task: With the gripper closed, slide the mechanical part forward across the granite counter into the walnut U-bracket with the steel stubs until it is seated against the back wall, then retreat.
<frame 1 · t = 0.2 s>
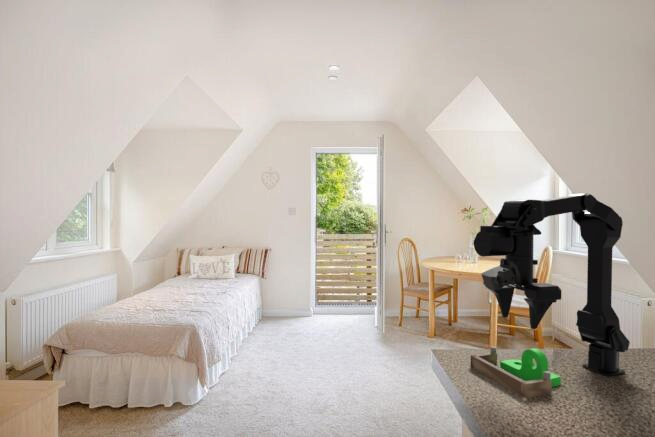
hand: (518, 322, 89), 14 cm above the countertop, fingers open, 9 cm apart
dock bracket: (511, 378, 92), on the countertop
mechanical part: (529, 377, 93), on the countertop
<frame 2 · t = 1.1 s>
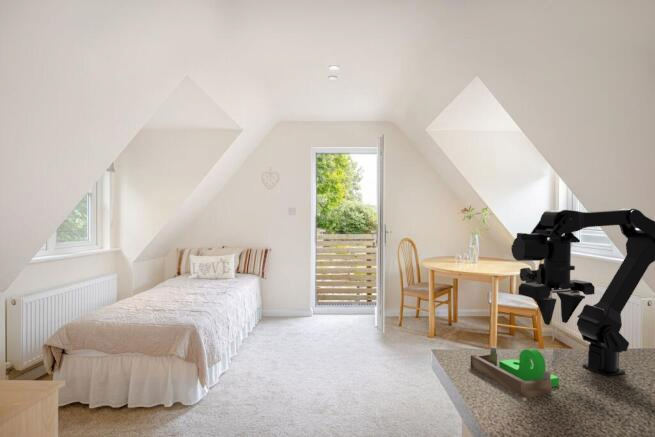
hand: (555, 323, 96), 12 cm above the countertop, fingers open, 5 cm apart
nothing on the countertop moved.
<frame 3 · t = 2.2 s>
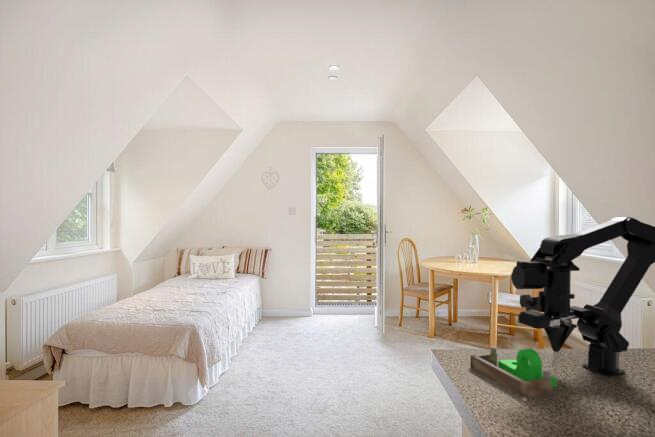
hand: (555, 351, 96), 5 cm above the countertop, fingers closed
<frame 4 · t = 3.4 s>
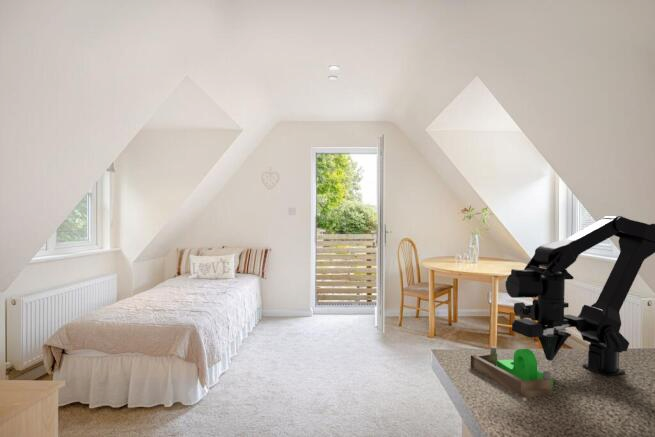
hand: (549, 360, 95), 3 cm above the countertop, fingers closed
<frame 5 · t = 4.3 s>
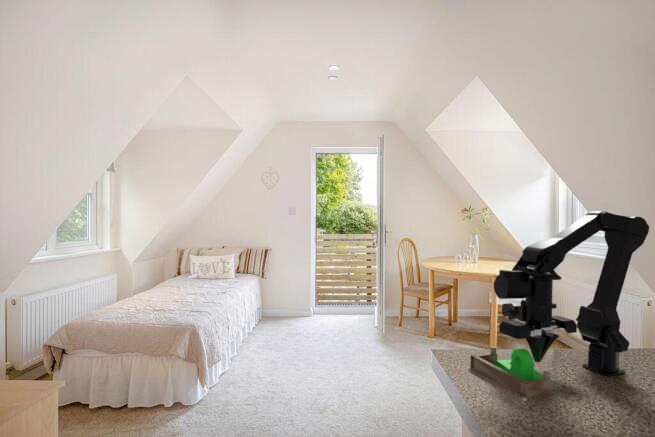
hand: (537, 361, 94), 3 cm above the countertop, fingers closed
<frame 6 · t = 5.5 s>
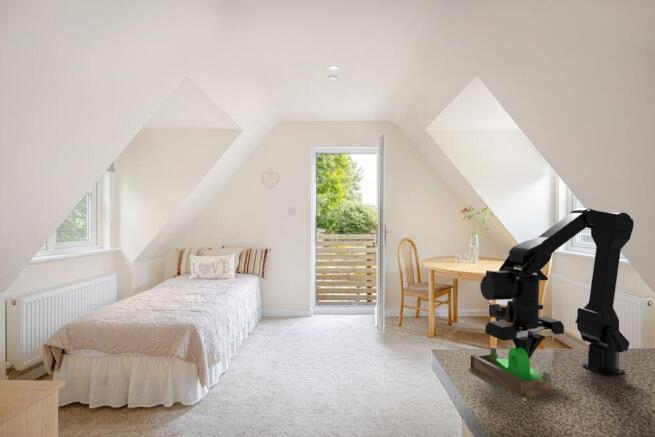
hand: (523, 363, 93), 3 cm above the countertop, fingers closed
mechanical part: (519, 377, 93), on the countertop, touching gripper
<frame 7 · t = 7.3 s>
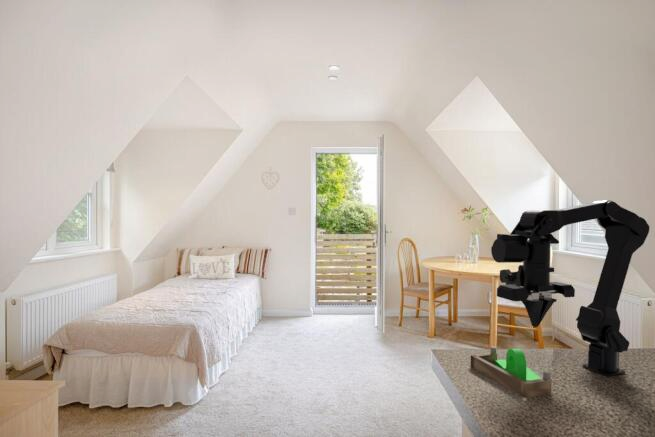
hand: (535, 326, 94), 12 cm above the countertop, fingers closed
mechanical part: (517, 378, 93), on the countertop
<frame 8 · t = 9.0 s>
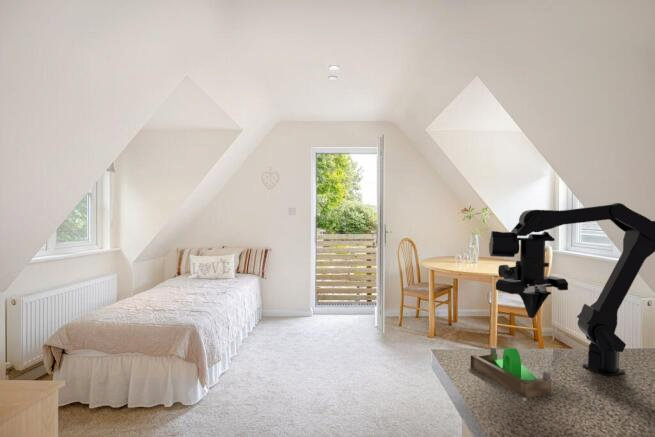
hand: (531, 317, 101), 12 cm above the countertop, fingers closed
at the end: mechanical part inside the target area on the dock bracket (1.7 cm from its centre), point 0.0 cm above the dock bracket's base; mechanical part moved 4.0 cm from its start; mechanical part tilted 0° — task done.
